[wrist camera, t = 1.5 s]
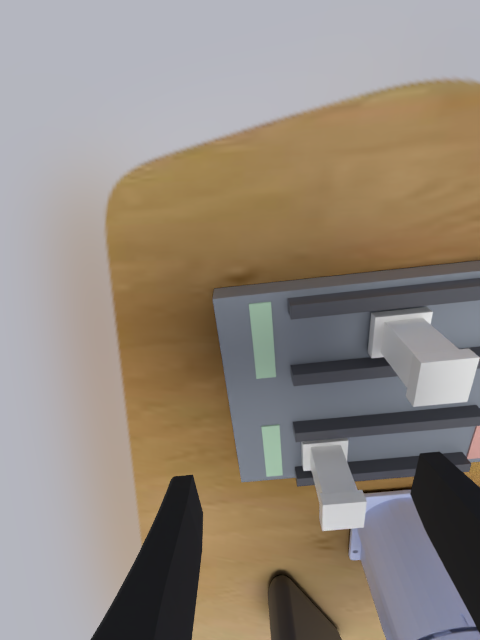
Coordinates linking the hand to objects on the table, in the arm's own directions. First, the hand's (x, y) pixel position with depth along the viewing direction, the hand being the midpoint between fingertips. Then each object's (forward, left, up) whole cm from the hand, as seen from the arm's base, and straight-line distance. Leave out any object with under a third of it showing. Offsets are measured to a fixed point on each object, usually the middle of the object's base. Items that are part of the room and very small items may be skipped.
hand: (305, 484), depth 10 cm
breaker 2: (0, -7, -9) cm, 11 cm away
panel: (-5, -6, -11) cm, 13 cm away
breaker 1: (-9, -3, -9) cm, 13 cm away
